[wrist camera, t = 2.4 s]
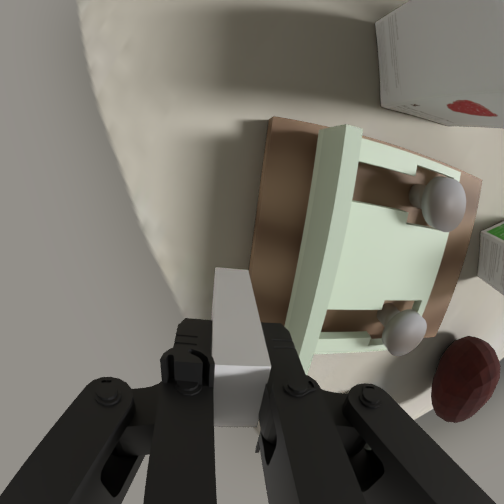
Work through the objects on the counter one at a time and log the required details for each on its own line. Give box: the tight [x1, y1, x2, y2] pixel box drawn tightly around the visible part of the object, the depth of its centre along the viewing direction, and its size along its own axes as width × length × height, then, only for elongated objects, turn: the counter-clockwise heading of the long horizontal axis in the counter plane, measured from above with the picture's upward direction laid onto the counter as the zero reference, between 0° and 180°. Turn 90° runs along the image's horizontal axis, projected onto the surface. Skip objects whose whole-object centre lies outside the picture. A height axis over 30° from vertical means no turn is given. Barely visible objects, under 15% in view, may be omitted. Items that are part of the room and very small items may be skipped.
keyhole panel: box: [284, 124, 461, 375], centre depth 19 cm, size 17×13×4 cm
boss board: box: [249, 116, 482, 356], centre depth 21 cm, size 18×22×6 cm
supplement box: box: [375, 0, 504, 128], centre depth 12 cm, size 9×9×15 cm
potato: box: [431, 336, 500, 423], centre depth 26 cm, size 11×13×10 cm
